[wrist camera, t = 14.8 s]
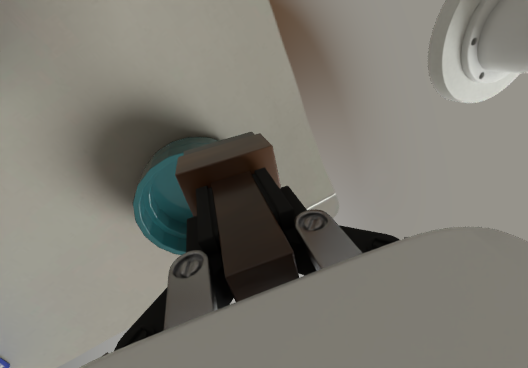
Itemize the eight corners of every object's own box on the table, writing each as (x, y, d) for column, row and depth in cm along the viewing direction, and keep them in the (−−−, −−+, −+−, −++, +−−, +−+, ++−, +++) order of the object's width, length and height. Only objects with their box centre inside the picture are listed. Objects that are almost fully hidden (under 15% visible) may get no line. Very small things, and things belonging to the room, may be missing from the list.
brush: (254, 127, 15) (338, 209, 6) (269, 190, 17) (345, 314, 9) (179, 148, 14) (157, 273, 6) (205, 212, 17) (218, 368, 8)
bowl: (236, 122, 29) (245, 134, 24) (259, 210, 35) (270, 233, 31) (121, 154, 27) (106, 174, 22) (169, 241, 34) (165, 270, 29)
